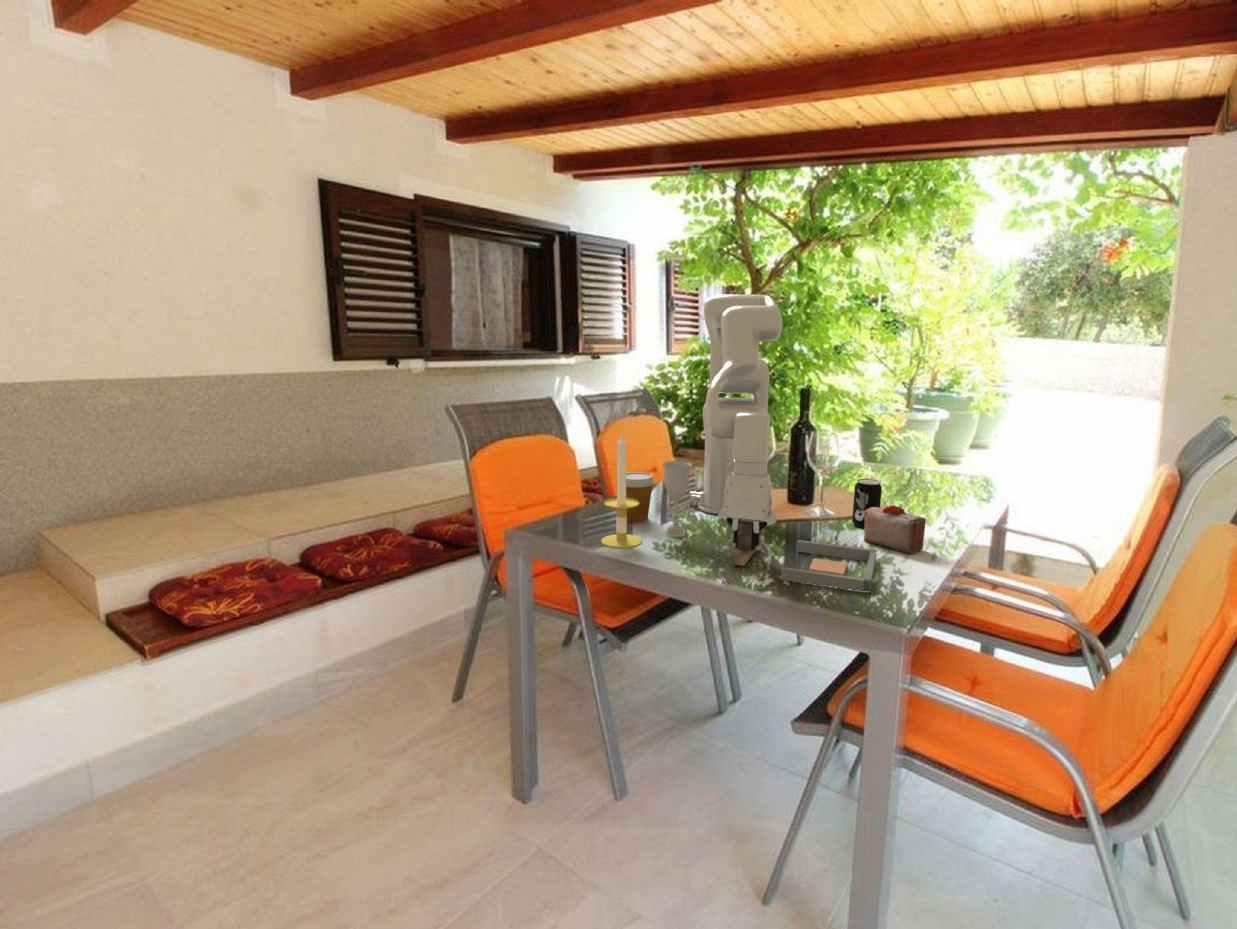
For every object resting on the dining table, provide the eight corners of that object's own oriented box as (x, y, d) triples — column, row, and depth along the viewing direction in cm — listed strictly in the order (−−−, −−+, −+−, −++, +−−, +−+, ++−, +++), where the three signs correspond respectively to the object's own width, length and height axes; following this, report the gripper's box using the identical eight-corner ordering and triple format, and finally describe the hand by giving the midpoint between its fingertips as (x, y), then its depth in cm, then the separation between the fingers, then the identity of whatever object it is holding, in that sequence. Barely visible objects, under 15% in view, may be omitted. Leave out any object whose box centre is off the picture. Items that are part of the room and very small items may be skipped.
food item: (856, 541, 164) (859, 502, 162) (875, 535, 168) (878, 497, 166) (909, 556, 153) (913, 515, 151) (927, 549, 158) (932, 509, 156)
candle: (594, 538, 165) (594, 430, 160) (631, 533, 169) (632, 427, 164) (610, 550, 156) (610, 436, 151) (649, 545, 160) (650, 433, 155)
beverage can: (880, 530, 172) (884, 484, 170) (853, 528, 173) (857, 483, 171) (876, 522, 178) (879, 478, 176) (850, 521, 180) (853, 477, 177)
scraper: (731, 564, 147) (733, 529, 145) (745, 546, 158) (747, 513, 157) (745, 566, 145) (747, 530, 144) (758, 548, 157) (759, 515, 155)
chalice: (692, 531, 171) (694, 462, 167) (686, 539, 164) (688, 467, 161) (665, 528, 173) (666, 460, 169) (657, 536, 167) (658, 465, 163)
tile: (808, 575, 143) (809, 568, 143) (813, 564, 149) (813, 558, 149) (843, 580, 140) (843, 573, 140) (846, 569, 146) (846, 562, 146)
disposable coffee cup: (612, 516, 183) (612, 474, 181) (642, 512, 188) (643, 470, 185) (628, 526, 175) (629, 481, 173) (660, 521, 179) (661, 477, 177)
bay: (780, 580, 139) (781, 568, 138) (797, 550, 157) (798, 539, 157) (869, 593, 132) (870, 581, 131) (875, 560, 150) (876, 549, 150)
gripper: (708, 467, 147) (706, 547, 151) (783, 474, 141) (779, 557, 145) (718, 461, 154) (715, 537, 158) (790, 467, 148) (785, 547, 152)
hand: (746, 546), depth 151 cm, fingers closed on scraper, 2 cm apart
